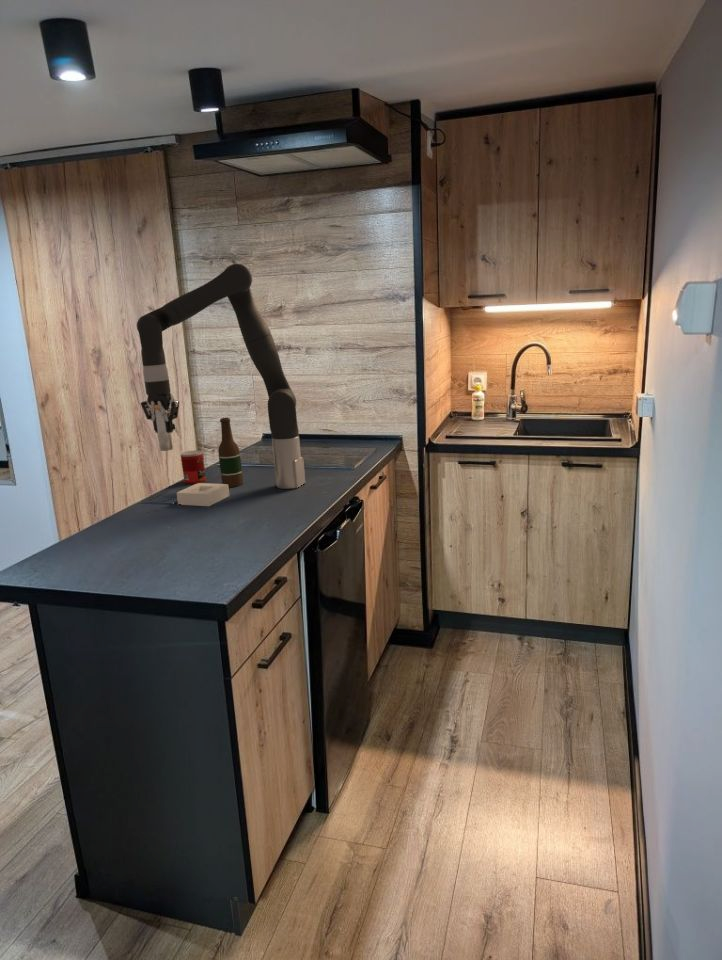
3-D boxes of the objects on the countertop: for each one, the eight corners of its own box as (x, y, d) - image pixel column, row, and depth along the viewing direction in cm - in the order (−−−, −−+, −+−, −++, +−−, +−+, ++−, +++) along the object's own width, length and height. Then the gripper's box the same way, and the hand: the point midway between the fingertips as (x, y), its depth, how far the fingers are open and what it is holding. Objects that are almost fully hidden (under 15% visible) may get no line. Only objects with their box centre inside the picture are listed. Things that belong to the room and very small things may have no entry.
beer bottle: (246, 481, 244) (238, 415, 238) (240, 487, 236) (232, 419, 230) (225, 482, 245) (217, 416, 239) (219, 488, 237) (210, 420, 231)
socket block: (229, 495, 226) (228, 484, 225) (208, 506, 216) (207, 494, 215) (199, 494, 231) (198, 482, 230) (178, 504, 220) (176, 492, 219)
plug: (175, 448, 221) (169, 402, 217) (167, 451, 217) (161, 404, 214) (165, 448, 223) (159, 402, 219) (157, 450, 219) (150, 404, 215)
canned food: (203, 483, 245) (199, 454, 242) (181, 485, 245) (177, 455, 243) (208, 478, 252) (204, 449, 250) (187, 479, 253) (183, 451, 250)
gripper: (182, 377, 215) (189, 430, 219) (146, 378, 220) (153, 430, 225) (167, 380, 208) (174, 434, 213) (130, 381, 214) (138, 434, 218)
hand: (164, 432), depth 219 cm, fingers closed on plug, 4 cm apart
